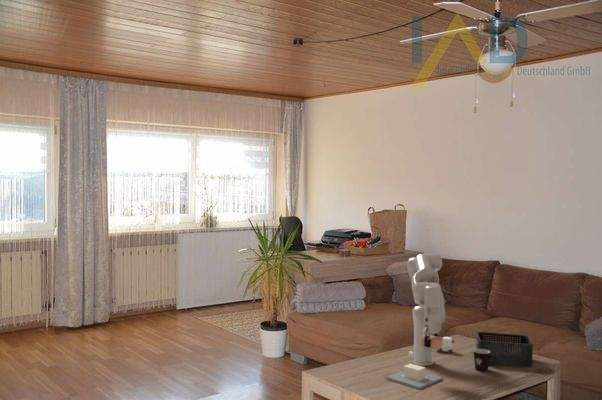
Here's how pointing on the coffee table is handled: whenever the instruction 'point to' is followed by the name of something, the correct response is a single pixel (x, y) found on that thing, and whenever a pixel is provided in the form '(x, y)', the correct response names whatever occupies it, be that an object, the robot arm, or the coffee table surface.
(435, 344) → the terracotta block
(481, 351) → the coffee mug
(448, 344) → the giant panda
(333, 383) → the coffee table surface
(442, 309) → the robot arm
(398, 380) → the build board
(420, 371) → the cream block
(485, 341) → the storage bin
